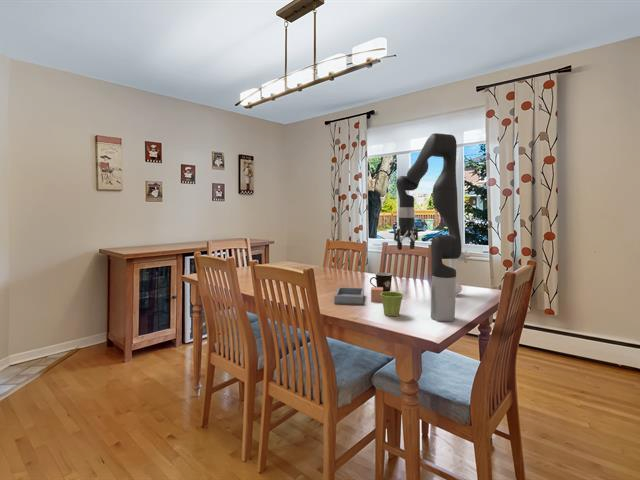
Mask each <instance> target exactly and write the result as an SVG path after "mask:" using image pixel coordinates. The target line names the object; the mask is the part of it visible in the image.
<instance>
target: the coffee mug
mask: <svg viewBox="0 0 640 480" xmlns="http://www.w3.org/2000/svg"><path fill="white" fill-rule="evenodd" d="M373 279H375V283H376V285H374V284H373V283H372V280H373ZM392 279H393V274H392V273H390V272H376V273H375V276H373V277H371V278H370V280H369V283H370V285H372V287H383V292H391V288H392V287H391V285H392Z"/></svg>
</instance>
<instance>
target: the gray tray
mask: <svg viewBox="0 0 640 480" xmlns="http://www.w3.org/2000/svg"><path fill="white" fill-rule="evenodd" d="M333 298H334V299H333V302H334V304H335V305H350V306H351V305H352V306H353V305H355V306H357V305H358V306H363V304H364V298H365V288H364V287H345V286H344V287H343V286H342V287H340V286H339V287H337V290H336V292H335V293H334V296H333Z"/></svg>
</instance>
